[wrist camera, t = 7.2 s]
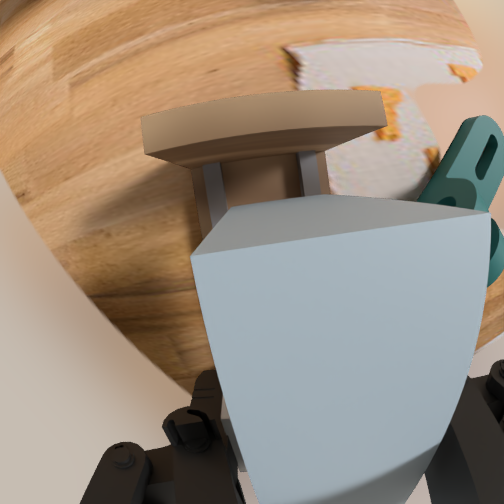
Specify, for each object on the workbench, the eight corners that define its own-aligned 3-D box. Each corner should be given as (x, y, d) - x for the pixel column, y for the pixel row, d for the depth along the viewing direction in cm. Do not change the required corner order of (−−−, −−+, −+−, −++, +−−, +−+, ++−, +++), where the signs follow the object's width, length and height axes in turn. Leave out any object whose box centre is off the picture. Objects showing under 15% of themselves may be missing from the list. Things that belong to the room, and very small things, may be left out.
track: (190, 149, 20) (140, 117, 10) (317, 133, 20) (380, 91, 10) (232, 372, 25) (228, 466, 14) (336, 355, 25) (377, 438, 14)
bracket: (431, 275, 24) (482, 304, 16) (392, 233, 22) (447, 253, 15) (500, 151, 21) (548, 151, 13) (470, 106, 20) (520, 94, 12)
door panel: (231, 206, 12) (190, 255, 3) (325, 194, 12) (490, 212, 3) (267, 419, 14) (281, 556, 5) (334, 407, 14) (381, 533, 5)
